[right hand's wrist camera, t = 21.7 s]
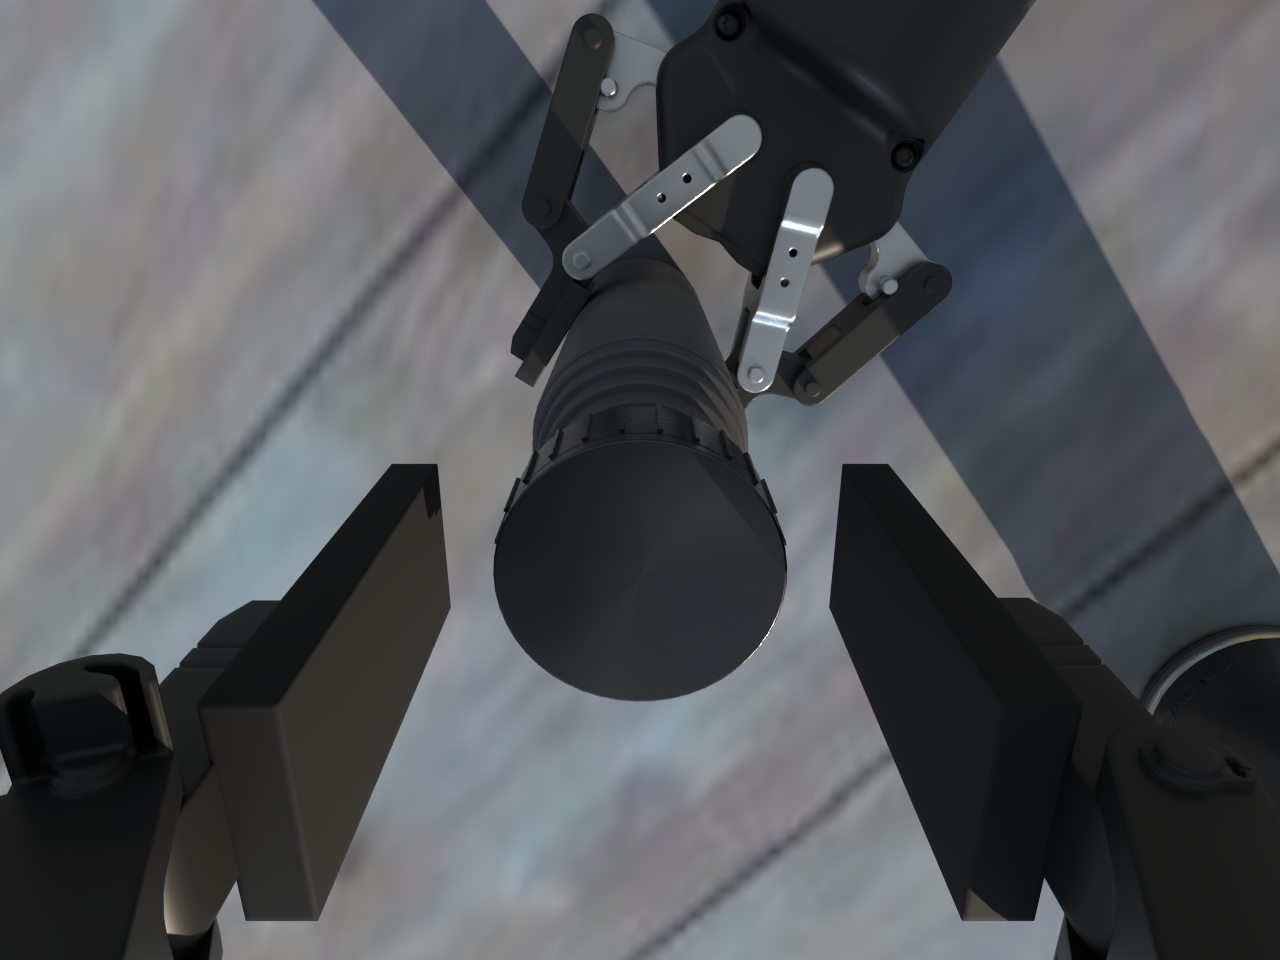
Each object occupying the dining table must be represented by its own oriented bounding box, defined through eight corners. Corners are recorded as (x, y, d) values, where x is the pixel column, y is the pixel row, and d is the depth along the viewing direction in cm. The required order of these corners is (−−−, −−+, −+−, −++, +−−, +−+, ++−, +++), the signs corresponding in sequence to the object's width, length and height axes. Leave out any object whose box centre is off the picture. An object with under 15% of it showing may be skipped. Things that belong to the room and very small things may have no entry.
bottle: (555, 334, 34) (432, 591, 14) (624, 231, 32) (598, 348, 12) (654, 401, 35) (675, 730, 15) (725, 303, 33) (854, 521, 13)
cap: (451, 502, 14) (426, 547, 13) (673, 345, 13) (678, 372, 12) (611, 686, 16) (608, 750, 14) (823, 557, 15) (847, 609, 13)
